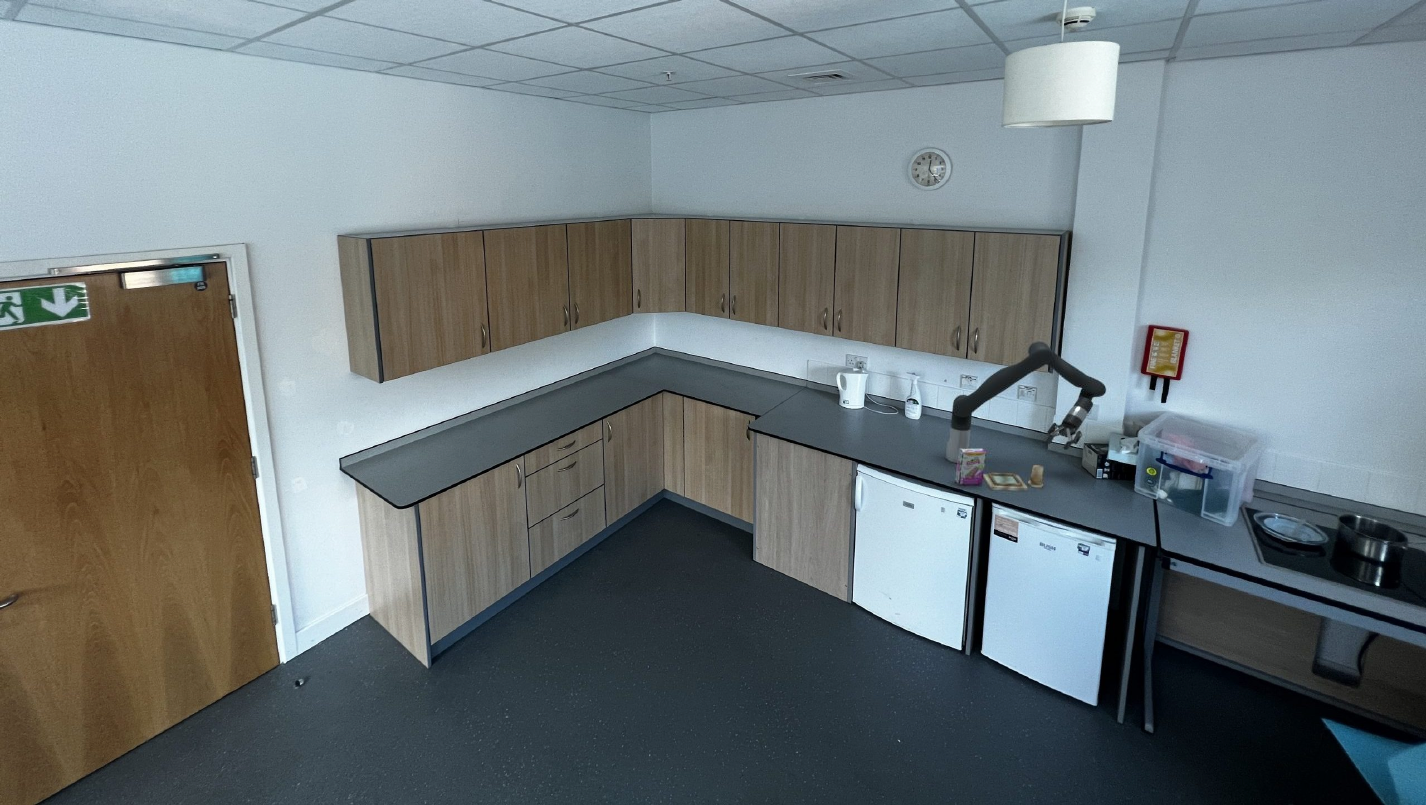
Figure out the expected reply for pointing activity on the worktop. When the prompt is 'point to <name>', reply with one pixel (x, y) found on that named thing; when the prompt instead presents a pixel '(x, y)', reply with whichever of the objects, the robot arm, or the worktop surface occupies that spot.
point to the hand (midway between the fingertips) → (1056, 446)
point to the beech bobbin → (1036, 477)
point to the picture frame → (1004, 481)
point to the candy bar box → (970, 466)
